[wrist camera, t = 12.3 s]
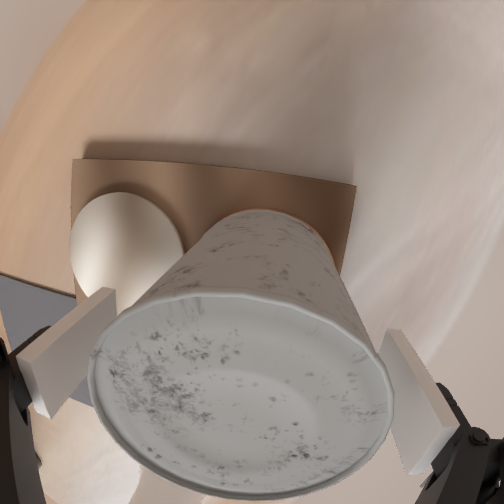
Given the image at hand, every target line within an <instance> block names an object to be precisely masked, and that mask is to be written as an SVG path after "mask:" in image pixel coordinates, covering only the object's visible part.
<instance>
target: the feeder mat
mask: <svg viewBox="0 0 504 504" xmlns="http://www.w3.org/2000/svg"><path fill="white" fill-rule="evenodd" d="M75 307H77V301H76V298H75V297H71V296H68V295H64V294H61V293H57V292H54V291H50V290H47V289H44V288H41V287H37V286H34V285H31V284H28V283H25V282H22V281H19V280H16V279H13V278H10V277H7V276H4V275H1V274H0V310H1V314H2V318H3V322H4V326H5V330H6V333H7V337H8V340H9V344H10V347H11V350H12V351H13V350H15V349H16V348H17V347H18V346H20V345H21V344H22V343H23V342H24V341H26V340H27V339H28V338H29V337H32V335H33V334H34V333H36V332H37V331H38V330H39V329H42V328H44V327H47V326H49V325H50V326H53V325H54V324H55V323H56V322H58V321H59V320H60V319H61V318H63V317H64V316H65V315H66V314H68V313H69V312H70V311H71V310H73V309H74V308H75ZM69 397H70V398H72V399H75V400H77V401H79V402H82V403H84V404H87V405H89V406H92V407H94V406H93V404H92V402H91V398H90V393H89V387H88V382H87V376H86V377H85V378H84V379H83V380H82V382H81V383H80V384H79V385H78V386H77V388H76V389H75V390H74V391H73V393H72V394H71V395H70V396H69Z"/></svg>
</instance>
